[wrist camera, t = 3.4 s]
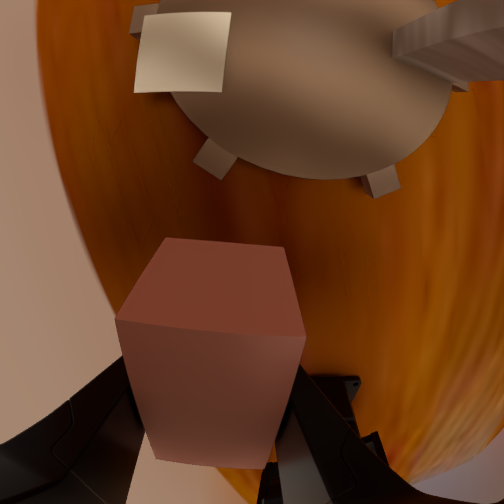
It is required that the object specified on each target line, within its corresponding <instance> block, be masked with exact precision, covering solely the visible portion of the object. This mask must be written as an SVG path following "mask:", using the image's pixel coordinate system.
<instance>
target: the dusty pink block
mask: <svg viewBox="0 0 504 504" xmlns="http://www.w3.org/2000/svg"><path fill="white" fill-rule="evenodd" d="M115 323H116V328H117V333H118V337H119V342H120V346H121V350H122V355H123V359H124V362H125V366H126V370H127V374H128V377H129V381H130V385H131V388H132V391H133V395H134V398H135V401H136V404H137V408H138V411H139V414H140V417H141V420H142V423H143V425H144V428H145V431H146V434H147V437H148V439H149V442H150V445H151V447H152V450H153V452H154V455H155V457H156V459H160V460H165V461H172V462H178V463H185V464H192V465H202V466H212V467H223V468H240V469H265V466H266V463H267V461H268V458H269V455H270V452H271V450H272V447H273V444H274V441H275V438H276V435H277V433H278V430H279V427H280V424H281V421H282V418H283V415H284V412H285V408H286V405H287V402H288V399H289V396H290V393H291V389H292V386H293V383H294V380H295V376H296V373H297V369H298V366H299V363H300V359H301V356H302V352H303V348H304V345H305V341H306V337H307V336H306V332H305V328H304V324H303V320H302V316H301V312H300V308H299V304H298V300H297V296H296V292H295V288H294V285H293V281H292V277H291V273H290V269H289V265H288V262H287V258H286V254H285V250H284V247H277V246H265V245H253V244H242V243H230V242H217V241H205V240H193V239H181V238H168V237H165V239H164V240H163V242H162V243H161V245H160V246H159V248H158V249H157V251H156V253H155V254H154V256H153V257H152V259H151V260H150V262H149V263H148V265H147V266H146V268H145V270H144V271H143V273H142V274H141V276H140V277H139V279H138V281H137V282H136V284H135V285H134V287H133V289H132V290H131V292H130V294H129V295H128V297H127V299H126V300H125V302H124V304H123V305H122V307H121V309H120V310H119V312H118V314H117V315H116V317H115Z"/></svg>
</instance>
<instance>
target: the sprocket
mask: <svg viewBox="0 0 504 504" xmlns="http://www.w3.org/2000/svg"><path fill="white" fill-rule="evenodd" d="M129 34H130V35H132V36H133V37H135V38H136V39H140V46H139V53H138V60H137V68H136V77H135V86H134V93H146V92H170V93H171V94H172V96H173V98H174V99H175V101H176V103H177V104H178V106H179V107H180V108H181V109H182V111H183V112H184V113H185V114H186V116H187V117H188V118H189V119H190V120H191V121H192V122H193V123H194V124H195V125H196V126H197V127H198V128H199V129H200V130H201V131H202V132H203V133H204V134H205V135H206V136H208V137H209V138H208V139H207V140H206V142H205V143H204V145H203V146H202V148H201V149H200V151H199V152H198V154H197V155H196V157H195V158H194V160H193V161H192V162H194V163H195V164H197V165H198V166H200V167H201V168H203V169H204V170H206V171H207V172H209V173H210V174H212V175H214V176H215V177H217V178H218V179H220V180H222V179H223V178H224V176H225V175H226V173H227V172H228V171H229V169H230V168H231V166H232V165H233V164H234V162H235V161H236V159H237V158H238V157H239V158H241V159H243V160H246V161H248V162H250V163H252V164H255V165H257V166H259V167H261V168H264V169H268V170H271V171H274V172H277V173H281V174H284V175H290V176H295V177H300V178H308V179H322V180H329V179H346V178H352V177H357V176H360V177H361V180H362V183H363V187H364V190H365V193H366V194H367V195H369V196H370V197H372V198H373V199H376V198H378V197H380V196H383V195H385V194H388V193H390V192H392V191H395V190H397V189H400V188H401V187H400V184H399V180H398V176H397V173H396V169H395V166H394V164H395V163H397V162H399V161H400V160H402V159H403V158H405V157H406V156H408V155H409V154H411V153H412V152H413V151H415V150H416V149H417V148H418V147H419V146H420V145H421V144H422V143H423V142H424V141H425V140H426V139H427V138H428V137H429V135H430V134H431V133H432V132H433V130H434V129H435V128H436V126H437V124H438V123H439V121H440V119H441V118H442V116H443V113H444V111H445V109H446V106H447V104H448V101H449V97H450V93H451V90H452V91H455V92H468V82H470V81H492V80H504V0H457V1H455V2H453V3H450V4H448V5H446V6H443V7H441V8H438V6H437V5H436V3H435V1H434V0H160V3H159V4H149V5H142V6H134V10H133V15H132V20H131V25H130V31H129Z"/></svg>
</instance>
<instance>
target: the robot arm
mask: <svg viewBox="0 0 504 504" xmlns="http://www.w3.org/2000/svg"><path fill="white" fill-rule="evenodd" d="M360 385H361V380H360V378H359V377H342V378H310V376H309V375H308V374H307V373H306V371H305V370H304V369H303V368H302V366H301V365H300V364H299V366H298V369H297V373H296V376H295V380H294V383H293V386H292V389H291V393H290V396H289V399H288V402H287V405H286V408H285V412H284V415H283V418H282V421H281V424H280V427H279V430H278V433H277V435H276V438H275V447H276V454H277V461H278V462H274V463H272V462H268V463H266V466H265V469H263V472H262V475H261V481H260V487H259V493H258V499H257V504H478V503H471V502H464V501H458V500H453V499H447V498H442V497H438V496H433V495H429V494H425V493H423V492H421V491H419V490H417V489H415V488H414V487H412V486H411V485H410V484H408V483H407V482H406V481H405V480H404V479H402V478H401V477H400V476H399V475H398V474H397V473H396V472H394V471H393V470H392V469H391V468H390V467H389V464H388V461H387V458H386V455H385V452H384V449H383V446H382V443H381V440H380V437H379V434H378V432H377V431H375V432H373V433H370V434H371V435H368V436H365V437H363V438H361V437H360V433H359V430H358V426H357V423H356V419H355V414H354V411H353V408H352V404H351V402H352V400H353V398H354V397H355V395H356V393H357V391H358V389H359V387H360ZM144 433H145V428H144V425H143V423H142V420H141V417H140V414H139V411H138V408H137V404H136V401H135V398H134V395H133V391H132V388H131V385H130V381H129V377H128V374H127V370H126V366H125V362H124V359H123V355H122V356H121V357H120V358H119V359H118V360H116V361H115V362H114V363H112V364H111V365H110V366H109V367H108V368H106V369H105V370H104V371H103V372H101V373H100V374H99V375H98V376H96V377H95V378H94V379H93V380H92V381H90V382H89V383H88V384H87V385H85V386H84V387H83V388H82V389H80V390H79V391H78V392H77V393H76V394H74V395H73V396H72V397H71V398H70V399H69V400H67V401H66V402H64V403H63V404H62V405H61V406H60V407H58V408H57V409H55V410H54V411H53V412H52V413H50V414H49V415H48V416H46V417H45V418H43V419H42V420H40V421H39V422H37V423H36V424H34V425H33V426H31V427H29V428H28V429H26V430H25V431H23V432H21V433H20V434H18V435H16V436H15V437H13V438H12V439H10V440H8V441H6V442H5V443H2V444H0V504H126V500H127V496H128V492H129V488H130V484H131V481H132V476H133V473H134V469H135V466H136V462H137V458H138V455H139V451H140V448H141V444H142V441H143V437H144ZM492 504H504V499H502V500H501V501H499V502H497V503H492Z"/></svg>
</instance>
